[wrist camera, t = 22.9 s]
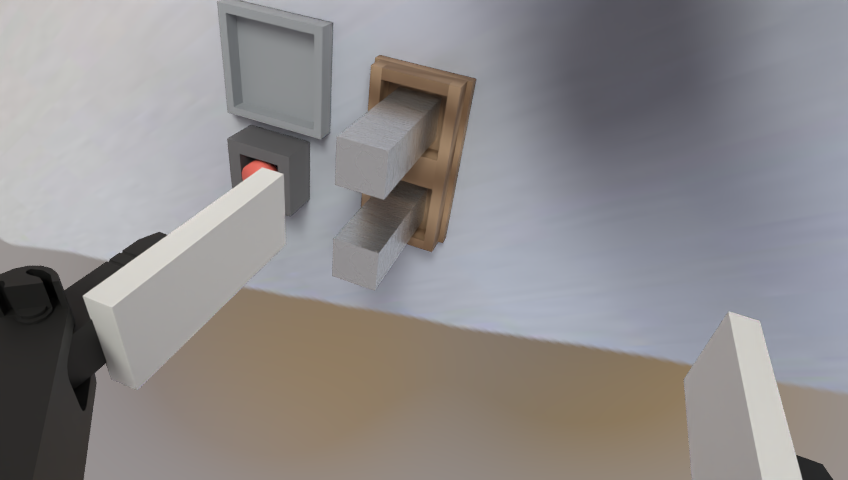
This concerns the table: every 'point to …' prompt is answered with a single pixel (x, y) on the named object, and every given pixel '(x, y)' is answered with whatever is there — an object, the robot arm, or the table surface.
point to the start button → (256, 168)
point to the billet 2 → (378, 235)
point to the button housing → (273, 161)
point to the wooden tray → (445, 152)
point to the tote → (277, 66)
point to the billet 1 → (386, 142)
